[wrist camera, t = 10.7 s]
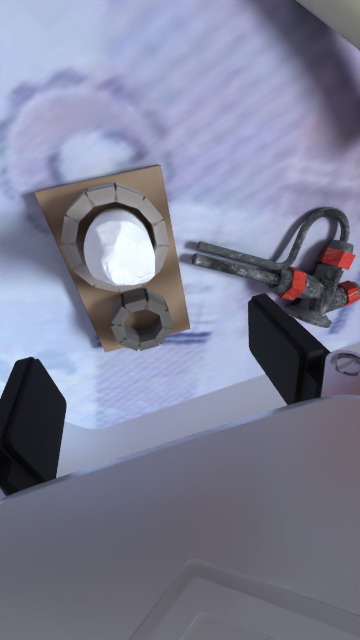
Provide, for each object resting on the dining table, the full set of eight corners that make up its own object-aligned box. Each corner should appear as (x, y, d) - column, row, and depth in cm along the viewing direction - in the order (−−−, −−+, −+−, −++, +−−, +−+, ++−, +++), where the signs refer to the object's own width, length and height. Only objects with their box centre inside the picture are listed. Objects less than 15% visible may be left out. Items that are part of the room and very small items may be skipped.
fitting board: (37, 190, 26) (26, 197, 22) (158, 164, 27) (166, 167, 23) (105, 345, 37) (105, 367, 33) (187, 322, 38) (196, 341, 35)
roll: (179, 263, 18) (137, 325, 20) (158, 229, 29) (131, 272, 30) (98, 210, 16) (57, 286, 17) (106, 194, 26) (80, 243, 28)
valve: (370, 228, 39) (324, 319, 44) (212, 167, 31) (178, 287, 36) (413, 232, 34) (355, 337, 39) (235, 159, 26) (190, 303, 31)
